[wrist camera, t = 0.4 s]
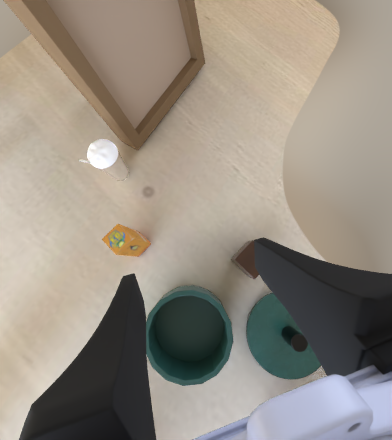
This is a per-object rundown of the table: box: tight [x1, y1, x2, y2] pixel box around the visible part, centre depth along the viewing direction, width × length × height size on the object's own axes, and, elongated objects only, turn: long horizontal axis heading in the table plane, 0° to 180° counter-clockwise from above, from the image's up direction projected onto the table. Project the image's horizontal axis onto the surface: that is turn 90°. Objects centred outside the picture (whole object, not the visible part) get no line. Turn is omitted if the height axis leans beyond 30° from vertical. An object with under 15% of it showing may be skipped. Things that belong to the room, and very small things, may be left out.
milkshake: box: [78, 139, 129, 181], centre depth 37 cm, size 4×5×10 cm
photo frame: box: [4, 0, 205, 150], centre depth 33 cm, size 15×22×25 cm
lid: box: [246, 293, 321, 379], centre depth 35 cm, size 13×13×5 cm
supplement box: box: [102, 224, 151, 257], centre depth 35 cm, size 3×3×10 cm
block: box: [231, 240, 259, 279], centre depth 38 cm, size 4×4×4 cm
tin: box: [146, 285, 233, 386], centre depth 35 cm, size 12×12×6 cm
